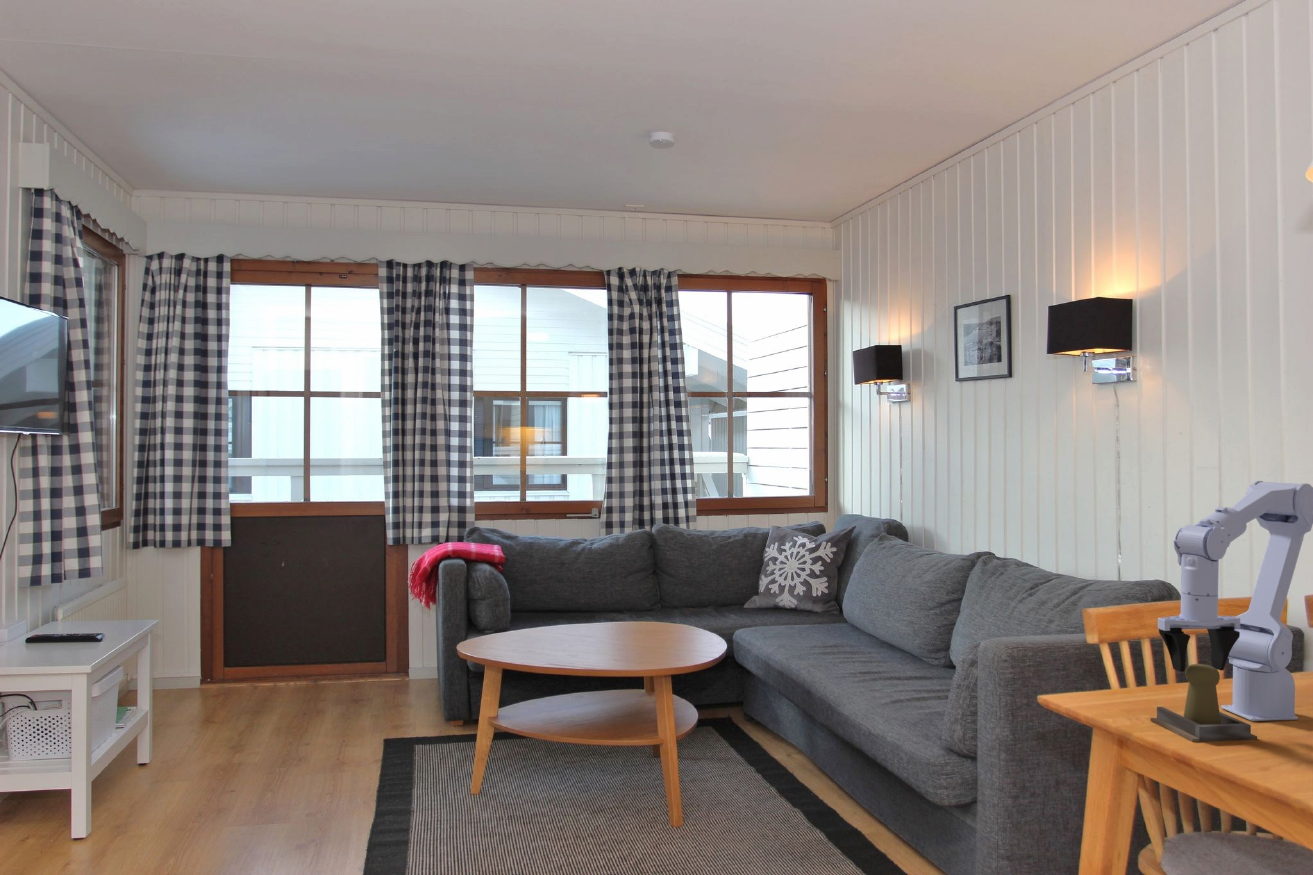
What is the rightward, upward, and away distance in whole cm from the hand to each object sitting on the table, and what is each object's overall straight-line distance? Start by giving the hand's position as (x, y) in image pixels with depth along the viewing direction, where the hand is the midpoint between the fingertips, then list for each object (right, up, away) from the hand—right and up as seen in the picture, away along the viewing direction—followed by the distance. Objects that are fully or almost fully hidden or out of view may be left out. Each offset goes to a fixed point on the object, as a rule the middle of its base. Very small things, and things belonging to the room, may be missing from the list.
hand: (1198, 669), depth 162 cm
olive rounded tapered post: (0, -10, -1) cm, 10 cm away
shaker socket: (0, -10, 0) cm, 10 cm away
